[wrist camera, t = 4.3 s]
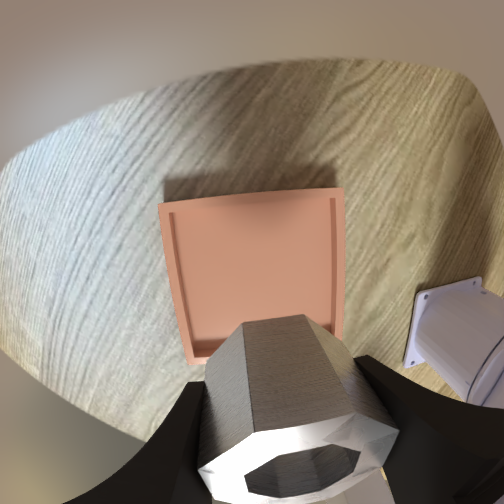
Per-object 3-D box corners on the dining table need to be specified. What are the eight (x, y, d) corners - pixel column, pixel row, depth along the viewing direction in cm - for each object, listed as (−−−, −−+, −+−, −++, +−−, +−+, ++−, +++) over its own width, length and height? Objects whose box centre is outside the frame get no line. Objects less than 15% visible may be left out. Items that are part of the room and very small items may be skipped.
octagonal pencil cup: (344, 306, 10) (414, 391, 5) (335, 404, 11) (371, 485, 6) (198, 326, 10) (180, 436, 5) (221, 421, 11) (223, 513, 6)
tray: (334, 187, 17) (343, 187, 16) (334, 335, 20) (341, 345, 19) (163, 202, 17) (157, 204, 15) (190, 353, 20) (187, 364, 18)
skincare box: (321, 430, 23) (354, 523, 12) (358, 423, 23) (400, 507, 12) (311, 459, 25) (336, 539, 13) (345, 452, 25) (375, 527, 13)
